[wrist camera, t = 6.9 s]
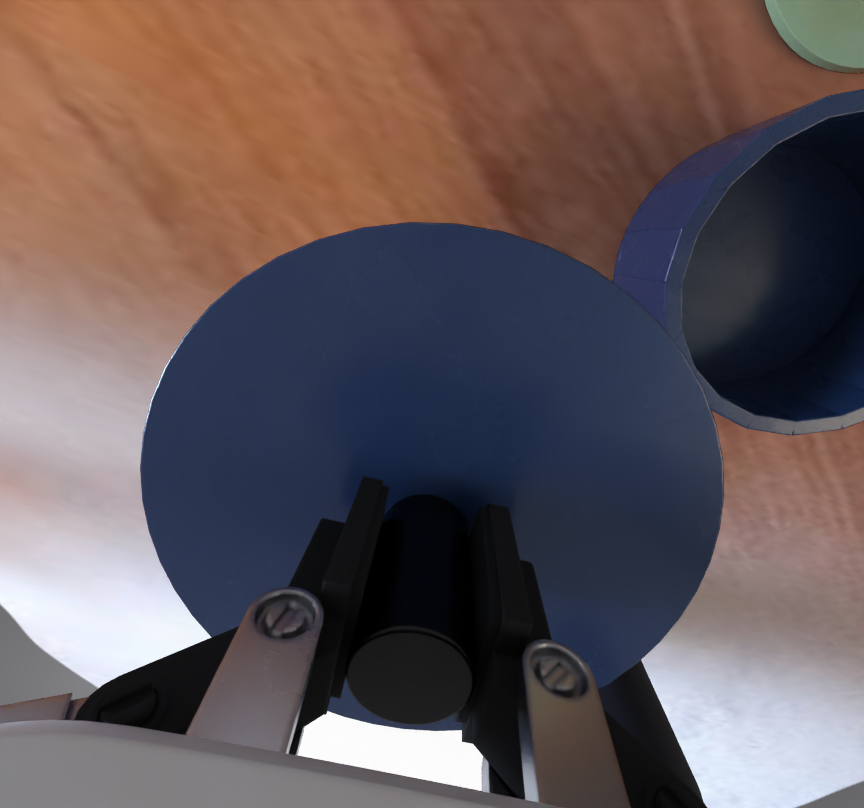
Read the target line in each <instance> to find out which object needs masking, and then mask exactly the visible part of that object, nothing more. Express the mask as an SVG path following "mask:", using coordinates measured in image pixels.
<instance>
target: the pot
mask: <svg viewBox="0 0 864 808" xmlns="http://www.w3.org/2000/svg"><path fill="white" fill-rule="evenodd" d="M613 283H615V284H616V285H618V286H619V287H621V288H622V289H624V290H625V291H627V292H628V293H629V294H630V295H631V296H632V297H633V298H634V299H635V300H636V301H637V302H638V303H639V304H641V305H642V306H643V307H644V308H645V309H646V310H647V311H648V312H649V313H650V314H651V315H652V316H653V317H654V318H655V319H657V320H658V321H659V323H660V324H661V325H662V327H663V328H664V329H665V330H666V332H667V333H668V334H669V335H670V337H671V338H672V339H673V341H674V342H675V343H676V344H677V346H678V347H679V348H680V349H681V351H682V352H683V353H684V355H685V357H686V358H687V360H688V362H689V364H690V366H691V367H692V369H693V371H694V373H695V375H696V376H697V378H698V380H699V382H700V384H701V385H702V387H703V389H704V392H705V395H706V398H707V400H708V403H709V406H710V409H711V410H712V411H713V412H715V413H717V414H719V415H721V416H723V417H725V418H727V419H729V420H731V421H732V422H734V423H736V424H738V425H740V426H742V427H745V428H747V429H753V430H760V431H766V432H772V433H778V434H785V435H800V434H808V433H816V432H824V431H832V430H840V429H844V428H847V427H849V426H852V425H854V424H857V423H860V422H862V421H864V89H861V90H856V91H850V92H845V93H840V94H835V95H829V96H827V97H824V98H822V99H819V100H817V101H814V102H812V103H809V104H807V105H804V106H802V107H799V108H797V109H794V110H791V111H789V112H786V113H784V114H781V115H779V116H776V117H774V118H771V119H769V120H766V121H764V122H761V123H759V124H756V125H754V126H751V127H749V128H746V129H744V130H741V131H739V132H736V133H734V134H731V135H729V136H727V137H725V138H723V139H721V140H720V141H718V142H716V143H713V144H711V145H709V146H707V147H705V148H704V149H702V150H700V151H698V152H696V153H694V154H693V155H691V156H689V157H688V158H686V159H685V160H684V161H683V162H682V163H680V164H679V165H677V166H676V167H675V168H674V169H673V170H672V171H671V172H669V173H668V174H667V175H666V176H665V177H664V178H663V179H662V180H661V181H660V182H659V183H658V184H657V185H656V186H655V187H654V189H653V190H652V191H651V192H650V193H649V194H648V196H647V197H646V198H645V200H644V201H643V203H642V204H641V205H640V207H639V208H638V210H637V211H636V213H635V215H634V217H633V219H632V220H631V222H630V224H629V226H628V228H627V230H626V233H625V235H624V237H623V240H622V242H621V245H620V249H619V252H618V256H617V259H616V265H615V271H614V279H613Z"/></svg>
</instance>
